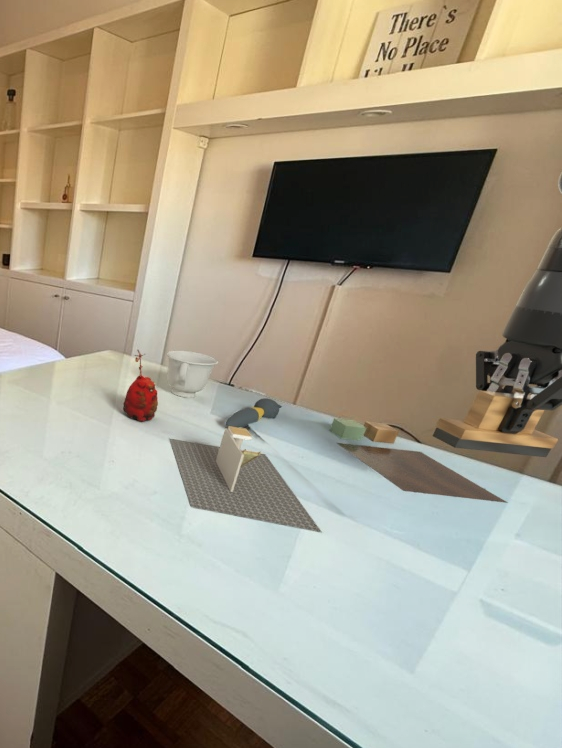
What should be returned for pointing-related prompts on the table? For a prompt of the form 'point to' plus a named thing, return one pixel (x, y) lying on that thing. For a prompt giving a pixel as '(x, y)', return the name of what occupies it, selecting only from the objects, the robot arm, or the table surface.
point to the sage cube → (347, 429)
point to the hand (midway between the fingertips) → (497, 427)
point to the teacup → (188, 372)
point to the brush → (494, 429)
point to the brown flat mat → (418, 472)
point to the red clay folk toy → (141, 397)
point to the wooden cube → (380, 432)
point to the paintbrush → (254, 413)
